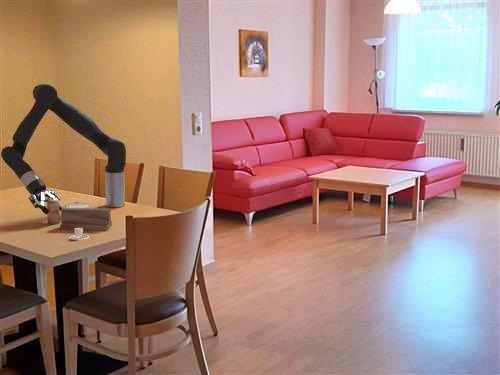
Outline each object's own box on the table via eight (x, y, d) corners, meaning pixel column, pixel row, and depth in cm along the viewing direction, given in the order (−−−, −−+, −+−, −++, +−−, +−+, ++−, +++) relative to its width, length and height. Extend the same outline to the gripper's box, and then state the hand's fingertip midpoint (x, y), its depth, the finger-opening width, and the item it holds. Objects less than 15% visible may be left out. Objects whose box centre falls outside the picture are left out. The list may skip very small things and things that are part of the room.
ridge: (66, 224, 269) (65, 206, 268) (112, 225, 270) (111, 207, 268) (60, 229, 260) (59, 211, 259) (107, 230, 261) (107, 211, 259)
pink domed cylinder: (49, 221, 274) (48, 199, 272) (61, 221, 274) (60, 199, 272) (46, 224, 269) (45, 201, 267) (57, 224, 269) (57, 202, 267)
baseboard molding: (58, 223, 273) (86, 222, 276) (58, 217, 273) (86, 216, 275) (63, 208, 303) (88, 207, 306) (63, 202, 302) (88, 201, 305)
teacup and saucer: (74, 242, 243) (74, 232, 242) (63, 238, 248) (62, 229, 247) (93, 238, 250) (92, 228, 249) (81, 234, 255) (81, 225, 254)
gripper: (25, 180, 265) (47, 209, 262) (48, 175, 278) (69, 203, 275) (16, 191, 268) (38, 220, 265) (40, 186, 281) (60, 213, 278)
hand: (54, 211), depth 270 cm, fingers open, 8 cm apart
